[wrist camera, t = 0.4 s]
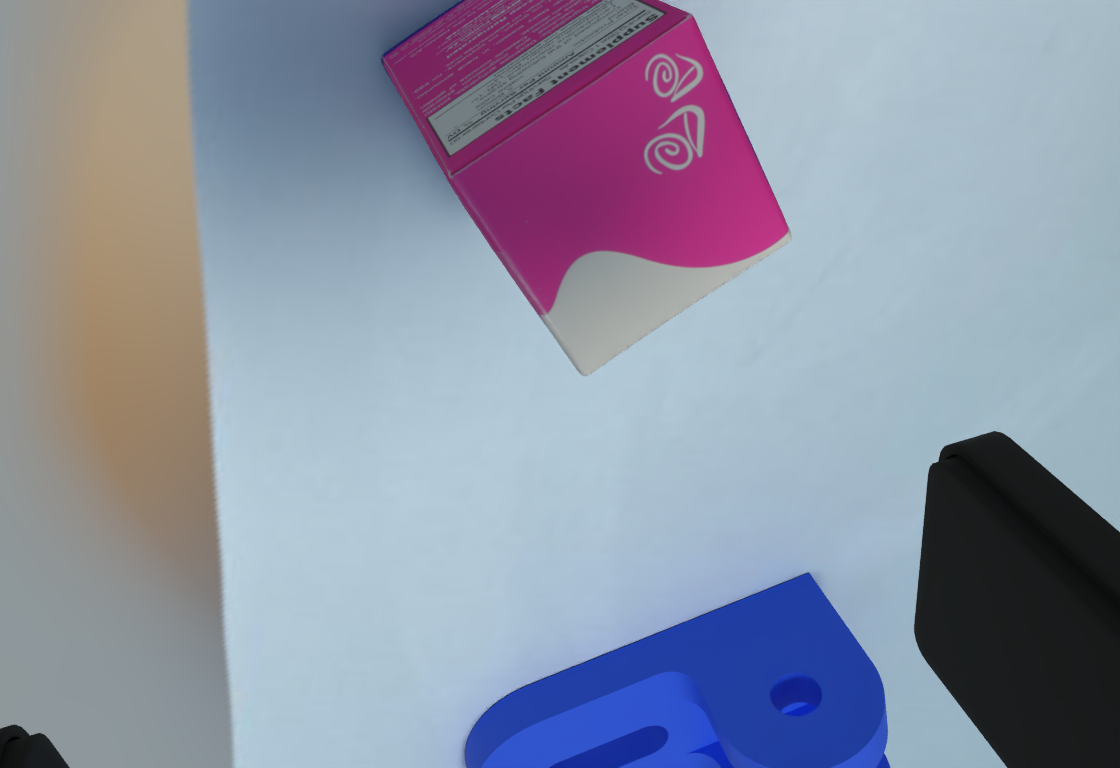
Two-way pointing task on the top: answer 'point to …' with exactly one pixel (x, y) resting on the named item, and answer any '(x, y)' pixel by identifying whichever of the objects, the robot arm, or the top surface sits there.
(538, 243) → the supplement box
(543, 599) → the top surface
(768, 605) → the bracket
